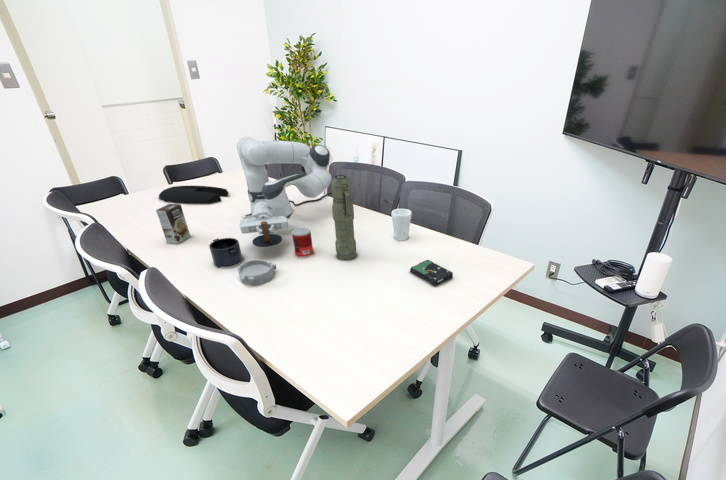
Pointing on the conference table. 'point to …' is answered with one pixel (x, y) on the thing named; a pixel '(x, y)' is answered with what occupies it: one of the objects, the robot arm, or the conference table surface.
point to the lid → (266, 237)
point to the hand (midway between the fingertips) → (265, 231)
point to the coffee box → (173, 223)
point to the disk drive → (431, 272)
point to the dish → (256, 271)
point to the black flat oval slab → (193, 194)
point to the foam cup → (401, 223)
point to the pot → (225, 252)
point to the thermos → (343, 218)
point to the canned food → (302, 242)
